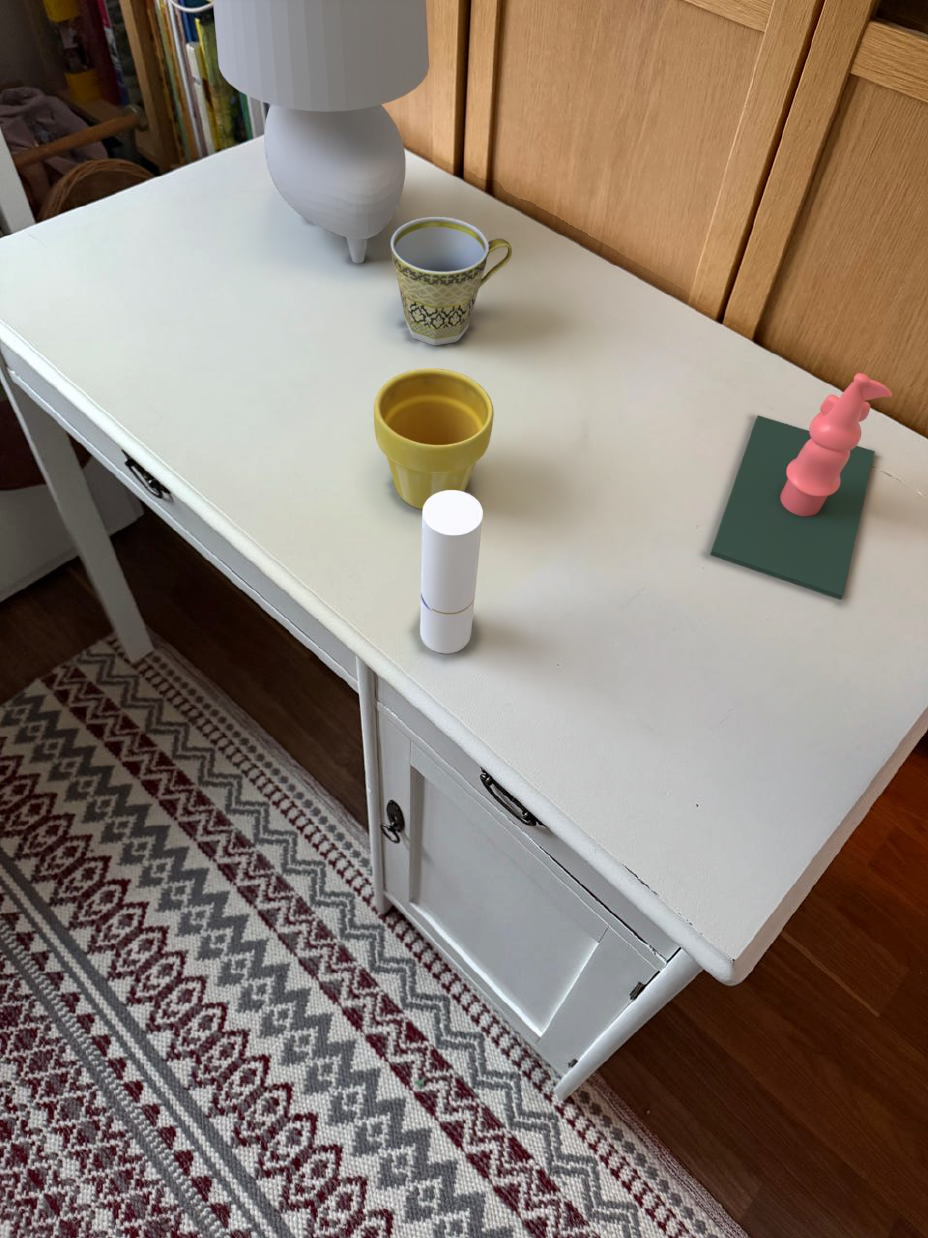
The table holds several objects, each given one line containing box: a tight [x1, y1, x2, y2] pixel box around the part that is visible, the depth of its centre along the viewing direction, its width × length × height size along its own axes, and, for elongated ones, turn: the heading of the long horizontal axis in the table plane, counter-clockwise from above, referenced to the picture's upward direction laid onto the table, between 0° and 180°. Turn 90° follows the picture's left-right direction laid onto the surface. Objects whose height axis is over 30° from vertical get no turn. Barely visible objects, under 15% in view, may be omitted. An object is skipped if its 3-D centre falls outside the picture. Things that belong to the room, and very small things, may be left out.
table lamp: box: [212, 0, 430, 264], centre depth 93 cm, size 23×22×40 cm
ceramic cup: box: [390, 216, 513, 347], centre depth 96 cm, size 13×10×10 cm
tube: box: [419, 490, 484, 654], centre depth 70 cm, size 4×4×15 cm
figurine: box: [780, 372, 893, 516], centre depth 80 cm, size 5×5×15 cm
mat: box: [709, 415, 876, 600], centre depth 87 cm, size 12×20×1 cm, turn 157°
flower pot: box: [373, 367, 495, 510], centre depth 82 cm, size 10×10×10 cm
